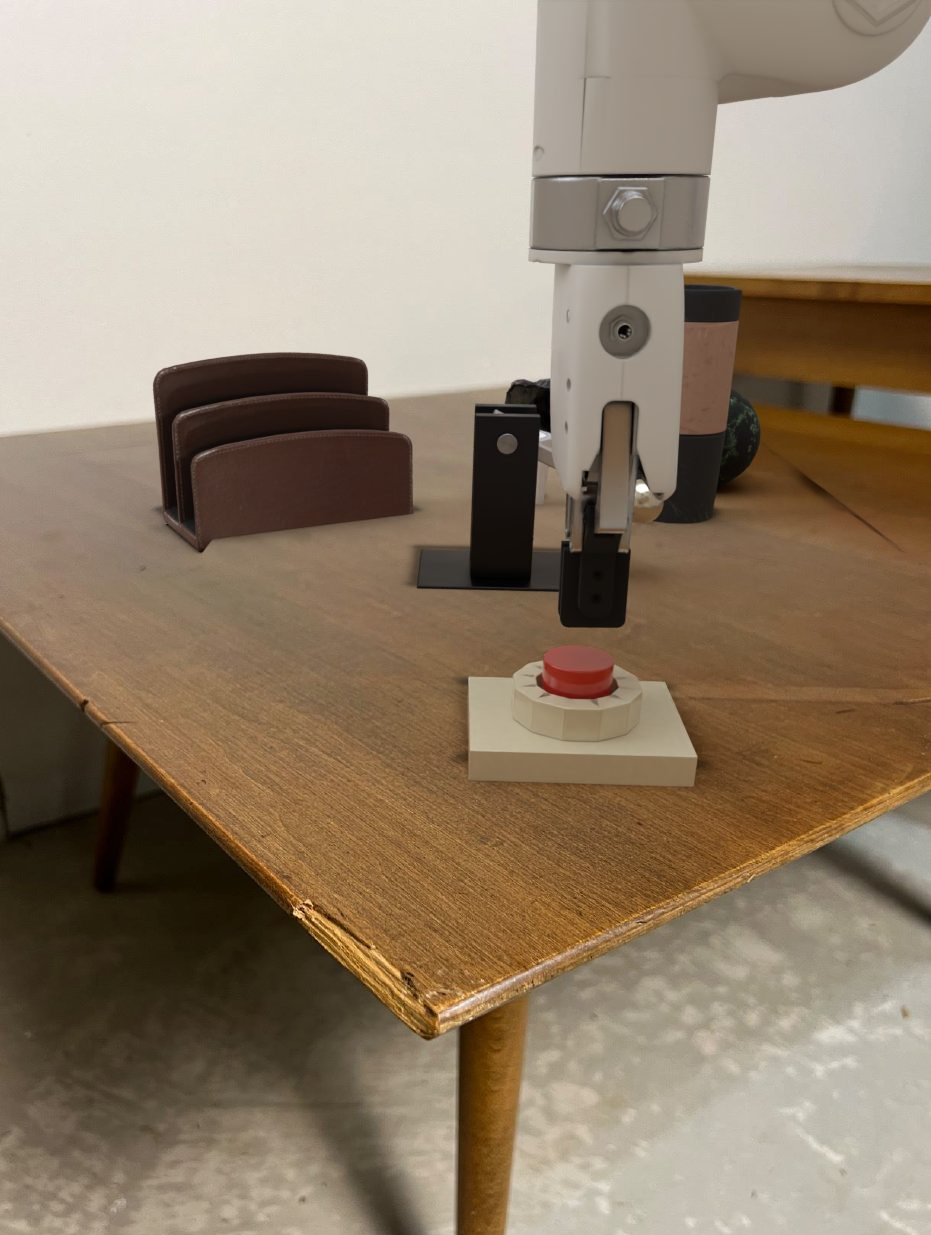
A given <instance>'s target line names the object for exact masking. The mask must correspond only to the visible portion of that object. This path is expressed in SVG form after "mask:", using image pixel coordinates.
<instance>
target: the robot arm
mask: <svg viewBox="0 0 931 1235" xmlns="http://www.w3.org/2000/svg"><path fill="white" fill-rule="evenodd" d="M536 10H537V11H536V35H535V65H534V66H535V67H534V96H533V97H534V98H533V99H534V100H533V122H532V123H533V126H532V128H533V129H532V152H531V153H532V157H531V162H532V163H531V178H532V179H531V180H530V203H529V204H530V205H529V208H530V209H529V230H528V238H529V239H528V247H529V248H528V256H527V257H528V258H527V261H528V262H531V263H539V264H551V265H552V264H553V265H554V276H553V293H552V294H553V295H552V296H553V297H552V315H551V316H552V318H551V345H550V346H551V348H550V378H551V379H550V416H551V443H552V457H553V462H554V465H555V468H556V469H555V471H556V474H557V477H558V479H559V482H560V485H561V487H562V489H563V492H565V494H566V495H565V521H564V535H565V539H566V540H561V541H560V552H561V557H560V577H559V592H558V595H557V596H558V599H557V612H558V617H559V620H560V625H562V626H563V627H564V628H569V629H571V628H574V629H588V628H589V629H619V628H622V627H623V626H624V625H625V623H626V616H627V605H628V604H627V603H628V594H629V593H628V592H629V580H630V570H631V569H630V568H631V556H632V549H631V548H630V545H631V538H632V536H631V535H632V528H633V526H632V525H633V523H632V519H633V509H634V501H635V490H636V481H637V473H638V474H639V475H640V477H641V478H642V480H643V481H644V483H645V484H646V486H647V487H648V489H649V491H650V492H651V493H653V495H654V496H655V497H656V499H657V500H666V499H668V498H669V497H670V496H671V495H672V494H673V493H674V491H675V489H676V480H677V464H678V445H679V427H680V408H681V390H682V372H683V349H684V284H685V278H684V277H685V276H684V264H695V263H701V262H703V257H704V246H705V240H706V230H707V220H708V219H707V218H708V209H709V199H710V198H709V197H710V190H711V189H710V188H711V187H710V186H711V177H710V175H711V173H712V168H713V166H712V164H713V155H714V146H715V145H714V144H715V138H716V136H715V135H716V125H717V116H718V115H717V114H718V105H726V104H733V103H738V102H739V103H740V102H745V101H754V100H760V99H768V98H785V97H791V96H799V95H807V94H814V93H821V92H828V91H832V90H836V89H841V88H844V87H847V86H850V85H853V84H856V83H858V82H861V81H864V80H865V79H867V78H869V77H872V76H873V75H875V74H877V73H880V71H882V70H883V69H884V68H886V67H888V66H890V64H892V63H893V62H894V61H896V60H897V59H898V58H899V57H900V56H902V55H903V54H904V52H906V51H907V50H908V49H909V48H910V46H911V45H913V43H914V42H915V41H916V40H917V38H918V37H919V35H921V33H922V32H923V30H924V28H925V27H926V25H927V24H928V22H929V20H930V18H931V0H537V3H536Z"/></svg>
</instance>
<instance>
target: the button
mask: <svg viewBox="0 0 931 1235" xmlns="http://www.w3.org/2000/svg"><path fill="white" fill-rule="evenodd" d="M542 657H543V658H542V660H543V670H542V685H541V687H542V689H543V690H545V691H546V692H548V693H549V694H553V695H557V696H561V697H565V698H569V699H597V698H601V697H605V696H610V694H611V692H612V683H613V673H614V665H615V659H614V657H613V655H612V654H610V653H609V652H607V651H605V650H602V649H600V648H596V647H592V646H589V645H588V646H587V645H579V644H578V645H577V644H572V645H570V644H569V645H568V644H567V645H560V646H555V647H552V648H550V649H548V650H547V651H546V652H545V653H544V654H543V656H542Z"/></svg>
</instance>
